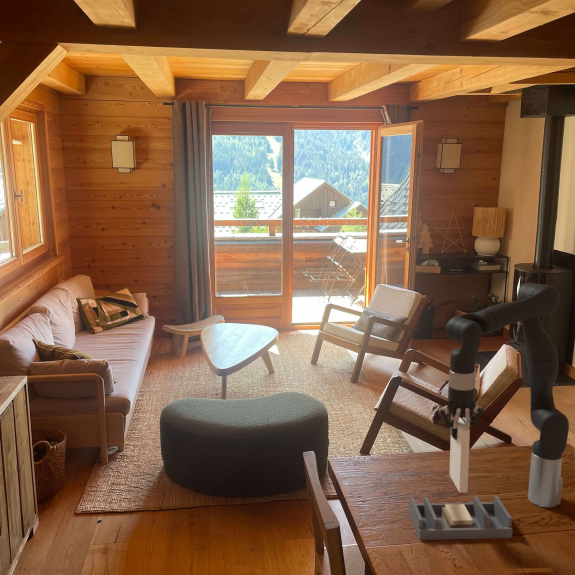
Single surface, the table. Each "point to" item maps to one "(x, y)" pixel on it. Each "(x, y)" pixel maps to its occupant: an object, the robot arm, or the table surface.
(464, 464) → the white rectangular board
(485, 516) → the rack
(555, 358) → the robot arm
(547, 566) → the table surface
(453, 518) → the offcuts
